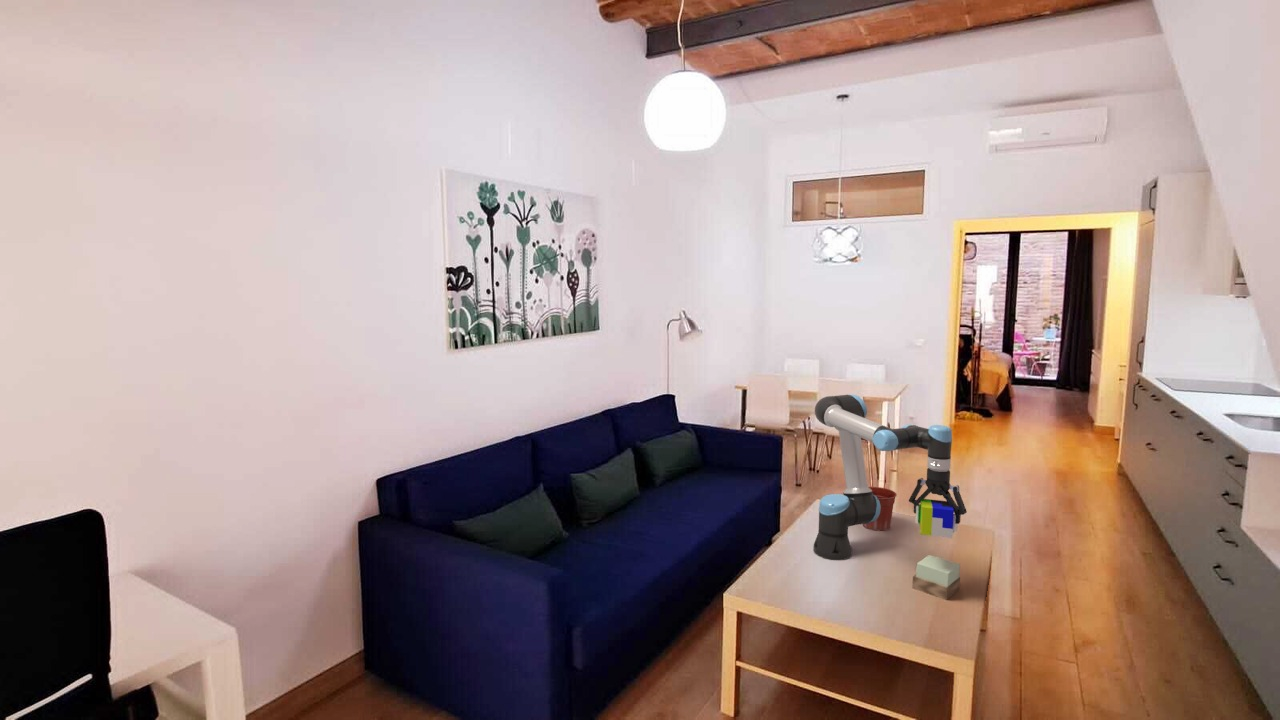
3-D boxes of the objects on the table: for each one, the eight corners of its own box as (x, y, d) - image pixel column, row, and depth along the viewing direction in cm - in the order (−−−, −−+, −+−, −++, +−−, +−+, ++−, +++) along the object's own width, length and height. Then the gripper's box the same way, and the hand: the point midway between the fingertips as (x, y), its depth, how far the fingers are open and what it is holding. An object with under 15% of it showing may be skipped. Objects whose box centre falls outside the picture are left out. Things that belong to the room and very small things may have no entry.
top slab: (915, 576, 230) (916, 563, 229) (928, 567, 237) (929, 554, 237) (947, 587, 222) (948, 573, 221) (959, 577, 229) (960, 564, 229)
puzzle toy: (952, 538, 220) (953, 510, 219) (921, 534, 224) (922, 507, 223) (949, 528, 230) (950, 501, 229) (919, 524, 233) (920, 498, 232)
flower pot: (860, 531, 283) (861, 497, 281) (854, 518, 299) (855, 485, 298) (898, 534, 281) (900, 499, 279) (890, 520, 297) (892, 487, 295)
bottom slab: (912, 589, 230) (912, 576, 230) (925, 579, 239) (926, 566, 238) (946, 601, 222) (947, 588, 221) (959, 590, 230) (960, 577, 229)
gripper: (900, 464, 232) (898, 520, 234) (970, 477, 215) (967, 539, 217) (909, 460, 237) (907, 516, 240) (978, 473, 220) (975, 533, 222)
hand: (935, 527), depth 228 cm, fingers closed on puzzle toy, 12 cm apart
